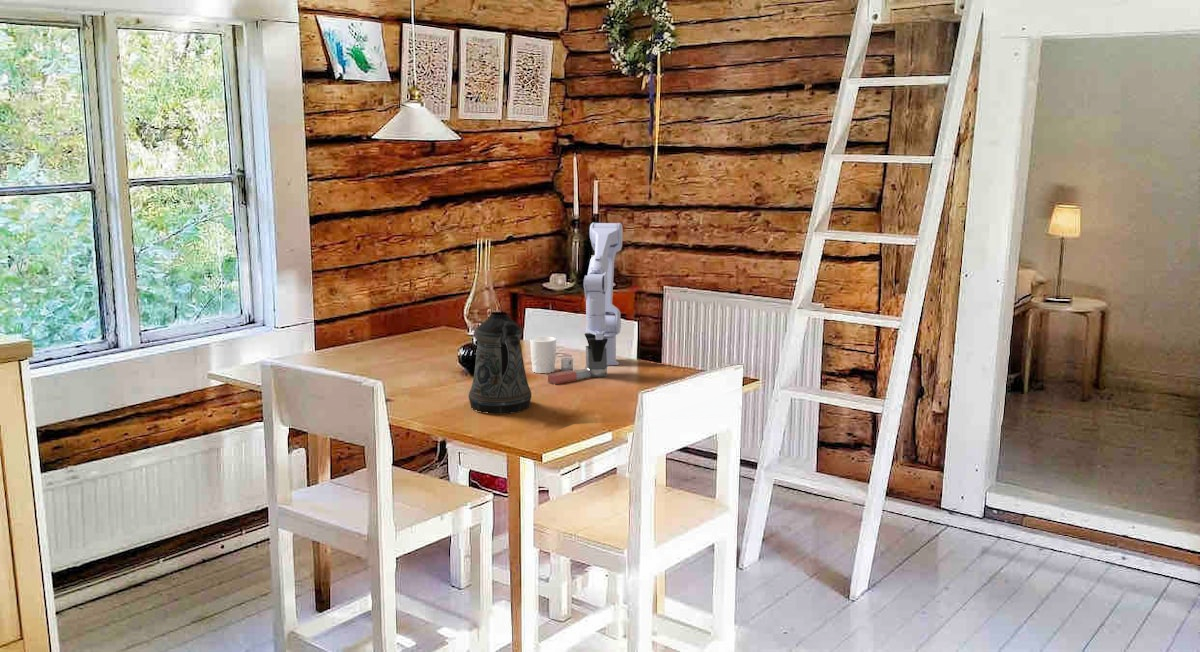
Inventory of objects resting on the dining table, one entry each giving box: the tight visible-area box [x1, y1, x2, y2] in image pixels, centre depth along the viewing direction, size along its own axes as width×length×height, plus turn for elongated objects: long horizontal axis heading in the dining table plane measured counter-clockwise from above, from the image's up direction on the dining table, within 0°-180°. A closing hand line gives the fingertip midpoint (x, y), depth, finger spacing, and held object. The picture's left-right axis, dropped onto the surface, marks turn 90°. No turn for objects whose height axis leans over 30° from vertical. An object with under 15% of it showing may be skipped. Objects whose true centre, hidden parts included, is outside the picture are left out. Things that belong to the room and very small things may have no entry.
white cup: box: [529, 336, 557, 374], centre depth 303 cm, size 8×8×10 cm
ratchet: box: [547, 366, 608, 385], centre depth 293 cm, size 20×6×6 cm, turn 129°
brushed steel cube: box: [585, 345, 608, 369], centre depth 297 cm, size 5×5×6 cm
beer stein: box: [468, 311, 532, 414], centre depth 260 cm, size 16×19×25 cm
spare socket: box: [560, 357, 574, 372], centre depth 302 cm, size 4×4×4 cm
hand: (596, 359), depth 297 cm, fingers open, 6 cm apart
